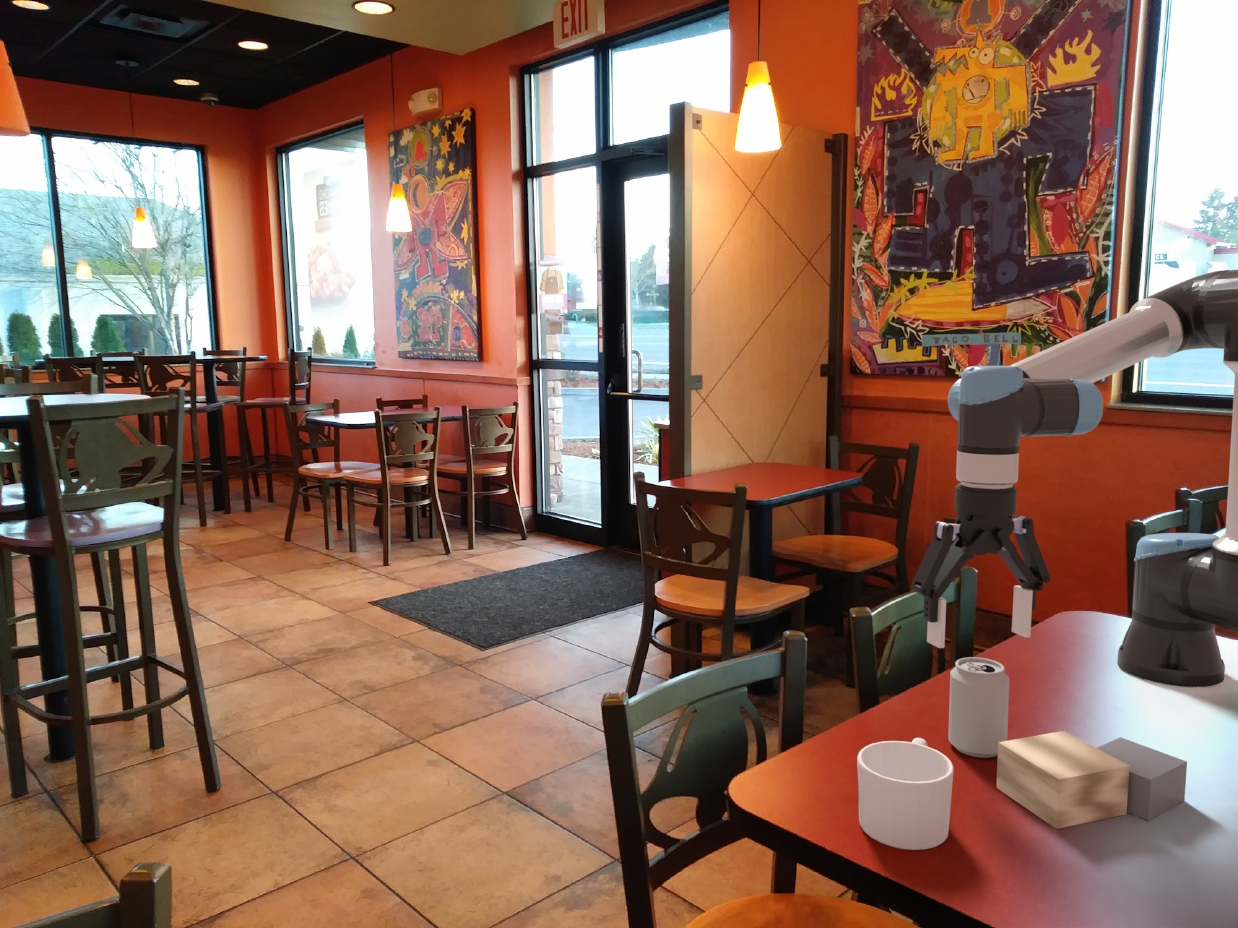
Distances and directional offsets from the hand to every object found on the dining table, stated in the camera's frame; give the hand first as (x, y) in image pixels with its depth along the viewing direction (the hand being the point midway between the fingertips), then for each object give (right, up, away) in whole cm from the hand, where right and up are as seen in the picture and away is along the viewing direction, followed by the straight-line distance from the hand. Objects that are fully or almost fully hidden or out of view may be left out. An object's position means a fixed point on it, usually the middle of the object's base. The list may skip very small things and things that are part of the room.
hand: (978, 639), depth 120 cm
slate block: (+14, -17, -11) cm, 25 cm away
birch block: (+5, -17, -12) cm, 22 cm away
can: (+1, -15, +2) cm, 16 cm away
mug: (-15, -18, -16) cm, 28 cm away
